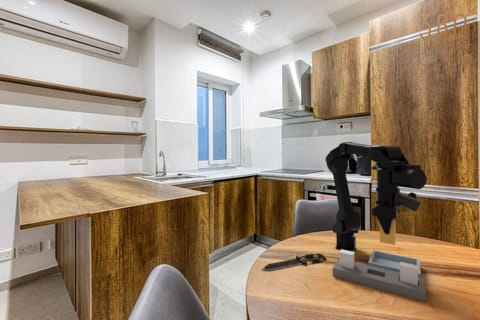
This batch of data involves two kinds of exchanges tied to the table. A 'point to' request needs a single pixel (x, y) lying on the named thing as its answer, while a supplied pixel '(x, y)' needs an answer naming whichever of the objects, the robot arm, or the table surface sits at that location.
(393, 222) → the block
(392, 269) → the tray
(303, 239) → the table surface
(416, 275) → the block
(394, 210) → the robot arm
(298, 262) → the black knife
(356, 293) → the table surface
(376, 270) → the fuse holder
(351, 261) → the fuse left
